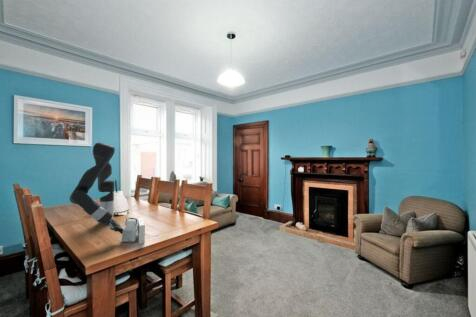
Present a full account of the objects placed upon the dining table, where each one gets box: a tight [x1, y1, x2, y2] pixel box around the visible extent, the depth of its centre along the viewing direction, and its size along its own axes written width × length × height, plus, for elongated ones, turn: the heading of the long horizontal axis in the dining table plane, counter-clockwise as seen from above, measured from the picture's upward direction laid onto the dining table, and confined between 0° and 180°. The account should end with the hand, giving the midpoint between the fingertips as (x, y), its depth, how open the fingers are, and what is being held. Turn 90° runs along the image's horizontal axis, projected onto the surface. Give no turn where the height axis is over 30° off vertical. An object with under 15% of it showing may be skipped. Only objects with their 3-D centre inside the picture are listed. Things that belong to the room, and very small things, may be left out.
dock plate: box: [136, 217, 146, 245], centre depth 137 cm, size 3×18×11 cm, turn 29°
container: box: [121, 217, 138, 243], centre depth 134 cm, size 8×8×13 cm
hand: (124, 233), depth 132 cm, fingers closed
